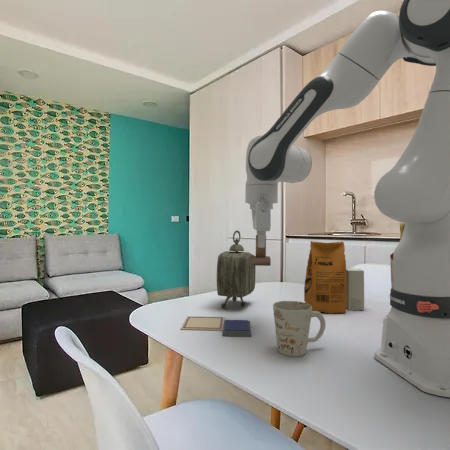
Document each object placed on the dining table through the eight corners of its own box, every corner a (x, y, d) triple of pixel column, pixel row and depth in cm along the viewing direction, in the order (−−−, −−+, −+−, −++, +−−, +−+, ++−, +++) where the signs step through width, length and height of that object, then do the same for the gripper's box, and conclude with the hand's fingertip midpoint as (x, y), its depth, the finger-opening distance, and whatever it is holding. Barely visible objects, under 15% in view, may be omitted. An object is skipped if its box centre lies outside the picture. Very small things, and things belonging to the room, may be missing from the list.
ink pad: (251, 336, 81) (251, 330, 81) (222, 336, 82) (222, 330, 82) (249, 325, 90) (249, 319, 90) (223, 324, 91) (224, 319, 91)
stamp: (270, 265, 90) (270, 235, 89) (251, 265, 90) (252, 235, 90) (269, 263, 94) (269, 235, 94) (251, 263, 95) (251, 234, 95)
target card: (223, 330, 86) (223, 329, 86) (180, 329, 86) (180, 328, 86) (224, 318, 97) (224, 316, 97) (187, 317, 97) (187, 316, 97)
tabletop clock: (231, 299, 119) (232, 229, 119) (255, 302, 116) (256, 230, 116) (216, 309, 106) (217, 230, 106) (243, 312, 103) (244, 231, 102)
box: (360, 307, 111) (360, 268, 110) (364, 310, 106) (365, 270, 106) (343, 306, 111) (344, 268, 111) (347, 310, 107) (347, 270, 107)
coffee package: (302, 305, 113) (303, 240, 112) (340, 306, 111) (341, 240, 111) (306, 313, 103) (307, 241, 102) (348, 314, 101) (349, 242, 101)
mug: (265, 346, 75) (266, 302, 75) (312, 340, 80) (313, 298, 80) (285, 361, 67) (285, 312, 67) (336, 353, 72) (336, 306, 72)
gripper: (276, 193, 81) (276, 250, 82) (269, 199, 102) (269, 244, 102) (250, 193, 82) (250, 250, 82) (249, 199, 102) (248, 244, 102)
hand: (260, 247), depth 92 cm, fingers closed on stamp, 3 cm apart
